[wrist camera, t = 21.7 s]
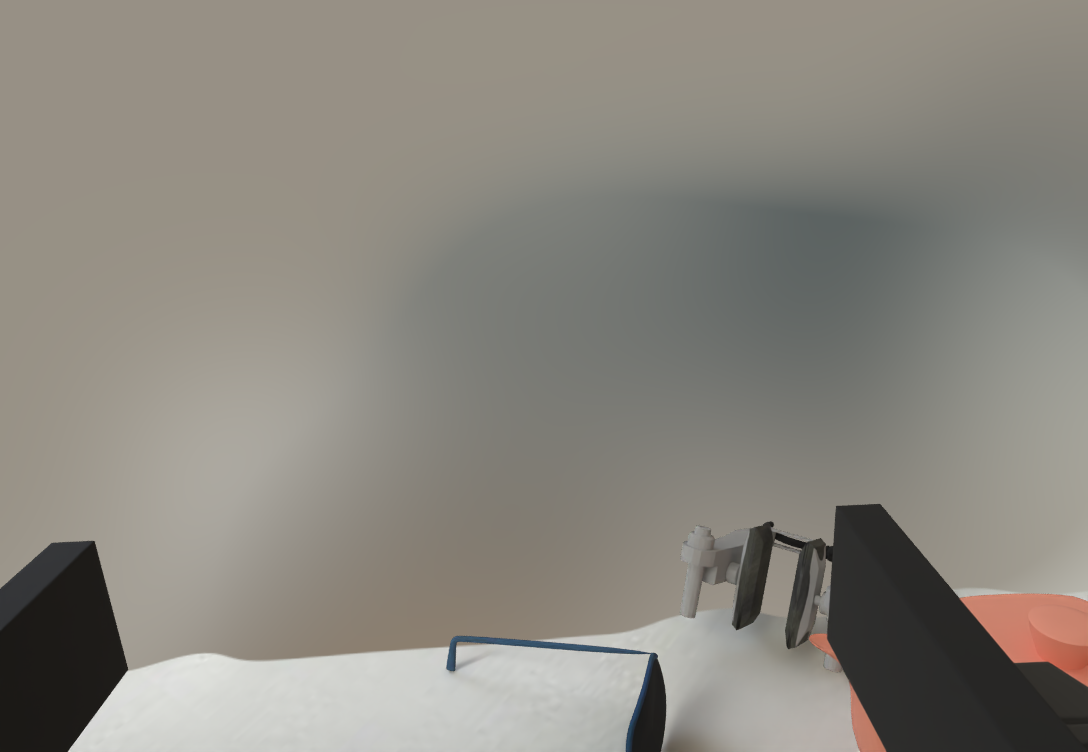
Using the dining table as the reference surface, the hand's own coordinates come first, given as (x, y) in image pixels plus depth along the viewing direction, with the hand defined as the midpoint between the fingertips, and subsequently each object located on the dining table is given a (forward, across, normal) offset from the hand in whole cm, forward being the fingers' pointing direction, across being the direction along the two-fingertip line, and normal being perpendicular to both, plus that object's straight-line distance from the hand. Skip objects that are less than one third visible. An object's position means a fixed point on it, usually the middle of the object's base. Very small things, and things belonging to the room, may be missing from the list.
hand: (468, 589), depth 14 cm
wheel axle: (+29, +13, -20) cm, 37 cm away
